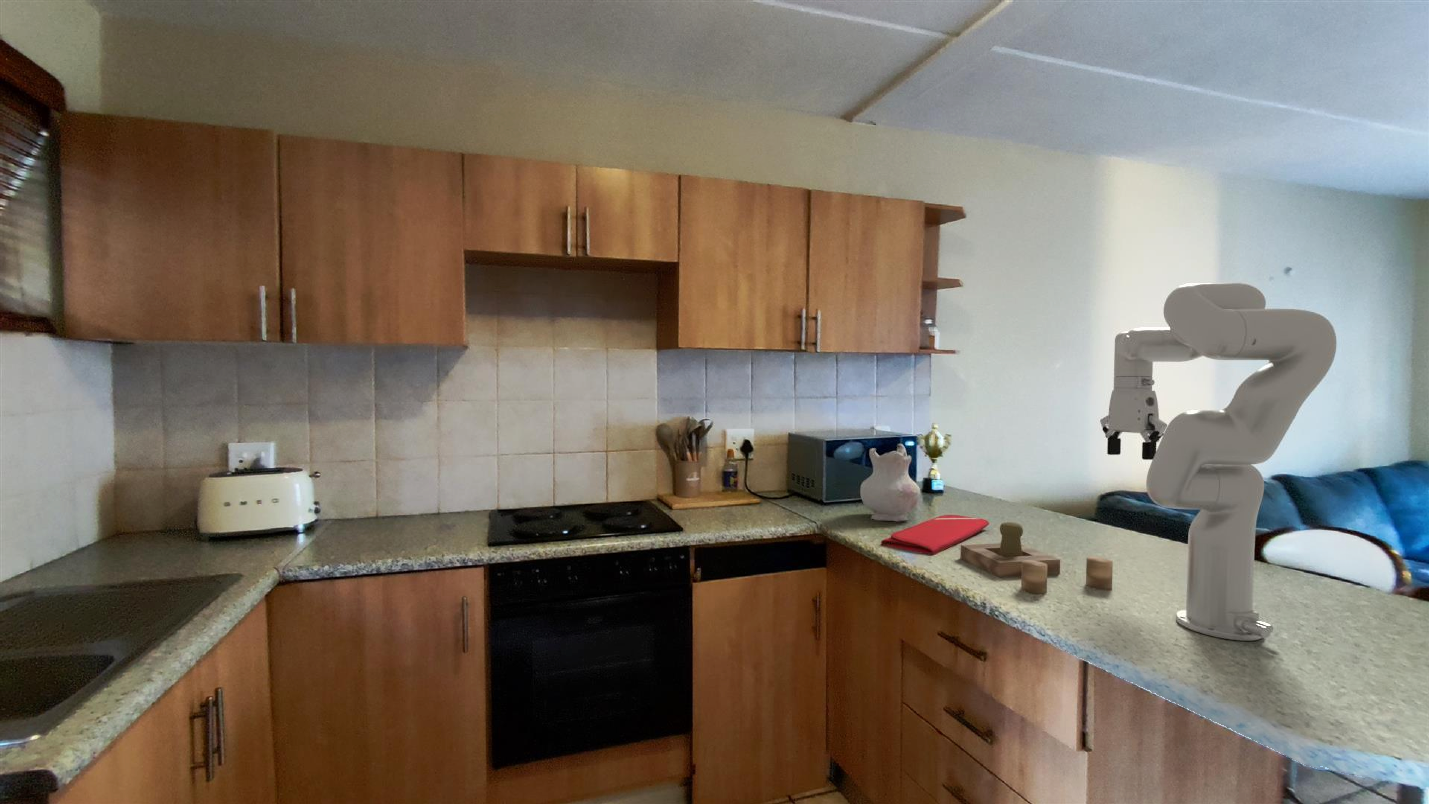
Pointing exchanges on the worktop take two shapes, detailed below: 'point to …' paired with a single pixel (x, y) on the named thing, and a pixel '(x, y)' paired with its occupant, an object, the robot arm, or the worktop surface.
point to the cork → (1010, 539)
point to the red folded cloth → (936, 534)
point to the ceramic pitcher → (890, 486)
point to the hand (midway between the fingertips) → (1130, 456)
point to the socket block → (1005, 559)
